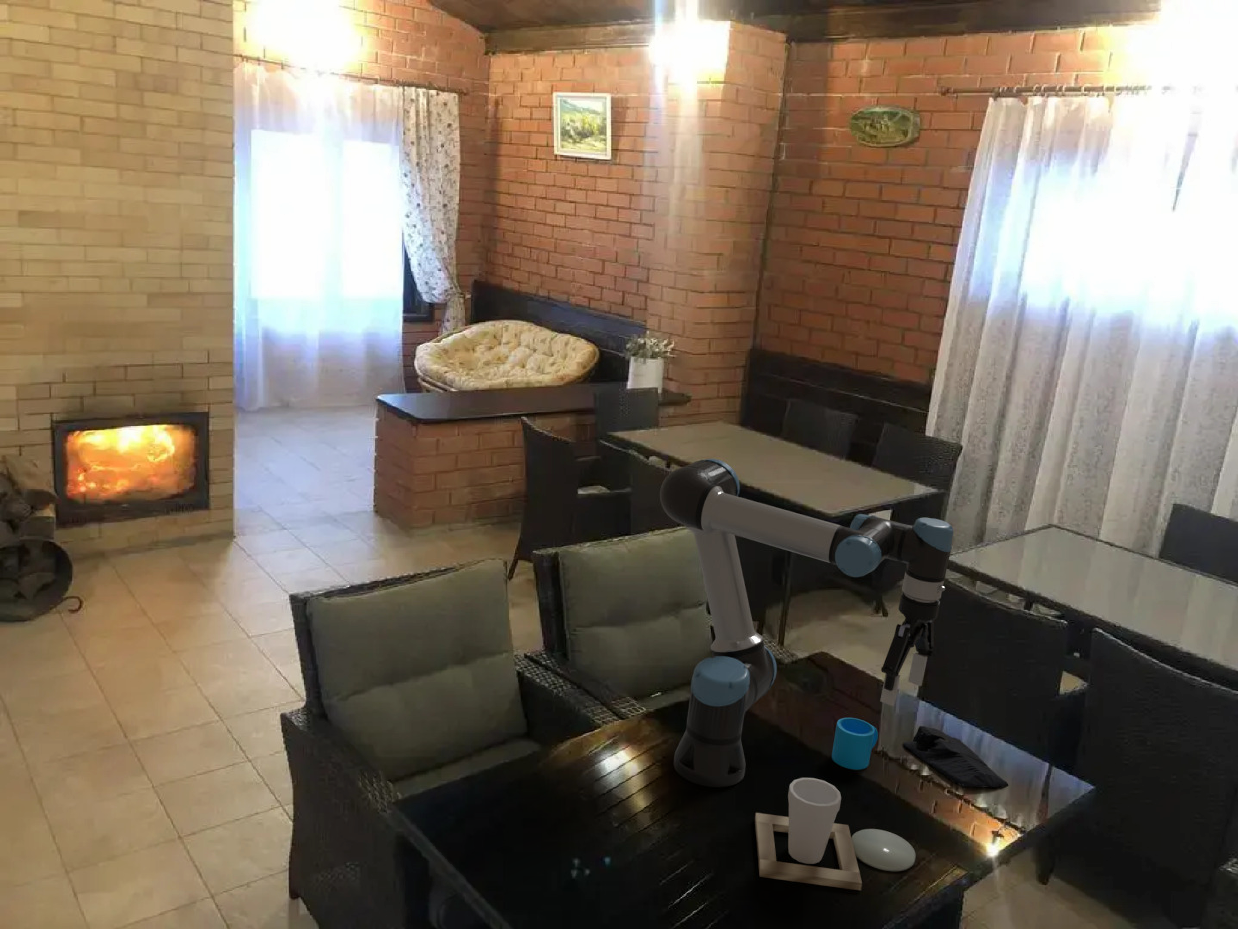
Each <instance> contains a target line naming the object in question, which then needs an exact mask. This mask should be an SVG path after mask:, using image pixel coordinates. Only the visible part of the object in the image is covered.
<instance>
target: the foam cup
mask: <svg viewBox="0 0 1238 929" xmlns="http://www.w3.org/2000/svg"><path fill="white" fill-rule="evenodd" d="M787 799H788V817H789V833H788V841H787V842H788V845H787V846H788V854H789V855H790V856H791V858H792V859H794V860H796V861H797V862H799V863H803V864H805V865H806V864H807V865H814V864H817V863H820V861H821V860H822V859H823V856H824V854H825V851H826V848H827V845H828V842H829V839H830V838H829V836H830V833H831V830H832V827H833V824H834V823H835V820H836V817H837V814H838V812H839V811H840V809H841V808H840V807H841V801H842V796H841V792H840V791H839V790H838V788H837V787H836V786H835V785H833V784H831V783H829V782H827V781H826V780H823V779H818V778H814V777H799V778H797V779H793V781H792V782H791V783H790V784H789V787H788V795H787Z"/></svg>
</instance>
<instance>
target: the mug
mask: <svg viewBox="0 0 1238 929" xmlns="http://www.w3.org/2000/svg"><path fill="white" fill-rule="evenodd" d="M878 738H879V732H878V730H877V728H876V727H875V726H873V725H872V724H870V722H867V721H865V720H864V719H863V720H862V719H859V718H856V717H855V718H854V717H843V718H839V719H838V720H837V722H836V727H835V733H834V739H833V740H834V741H833V745H832V746H833V747H832V752H831V760H832V761H833V762H834V763H835V764H837V765H839V766H841V767H843V768H845V769H849V770H857V771H858V770H864V769H866V768H868V766H869V765H870V759H871V754H872V749H873V748H874V747H875V745H876V744H877V741H878Z"/></svg>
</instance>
